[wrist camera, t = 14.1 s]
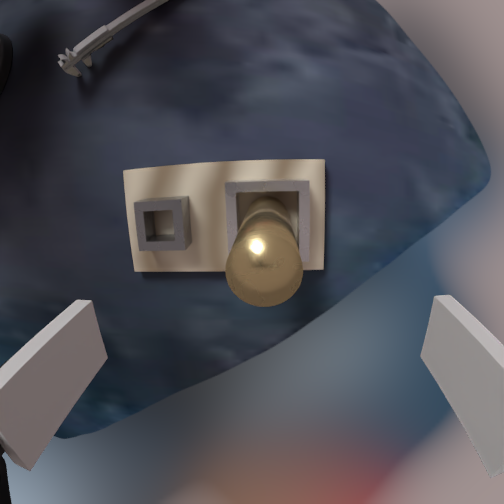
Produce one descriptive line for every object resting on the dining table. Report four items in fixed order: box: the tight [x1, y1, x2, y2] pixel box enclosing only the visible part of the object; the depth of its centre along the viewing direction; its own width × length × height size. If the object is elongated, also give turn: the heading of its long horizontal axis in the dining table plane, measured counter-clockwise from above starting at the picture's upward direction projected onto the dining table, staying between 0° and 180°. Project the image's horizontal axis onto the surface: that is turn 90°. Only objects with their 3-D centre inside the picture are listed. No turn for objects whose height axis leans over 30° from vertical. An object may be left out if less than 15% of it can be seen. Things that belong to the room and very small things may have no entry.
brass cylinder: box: [225, 196, 303, 307], centre depth 25 cm, size 4×4×16 cm
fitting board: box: [123, 159, 325, 272], centre depth 33 cm, size 22×12×4 cm, turn 92°
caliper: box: [58, 0, 169, 77], centre depth 25 cm, size 20×1×6 cm, turn 125°
